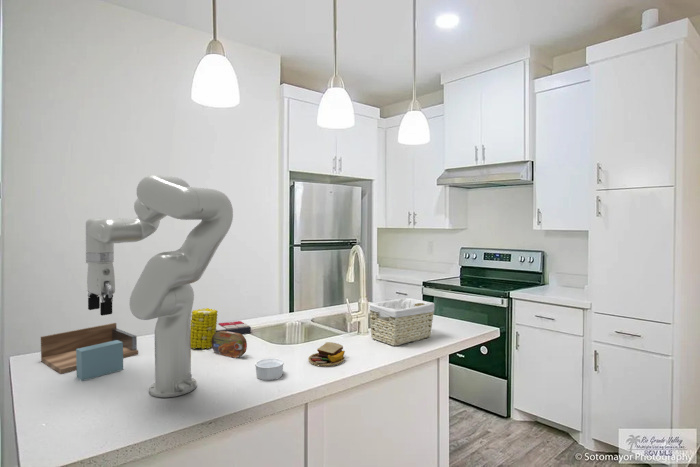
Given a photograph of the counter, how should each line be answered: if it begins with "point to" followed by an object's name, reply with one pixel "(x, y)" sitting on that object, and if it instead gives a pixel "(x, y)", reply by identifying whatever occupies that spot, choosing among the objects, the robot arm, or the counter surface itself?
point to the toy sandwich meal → (328, 355)
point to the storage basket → (401, 320)
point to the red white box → (234, 327)
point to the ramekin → (269, 368)
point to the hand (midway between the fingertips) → (100, 311)
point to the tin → (229, 344)
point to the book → (99, 359)
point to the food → (203, 327)
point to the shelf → (82, 345)
